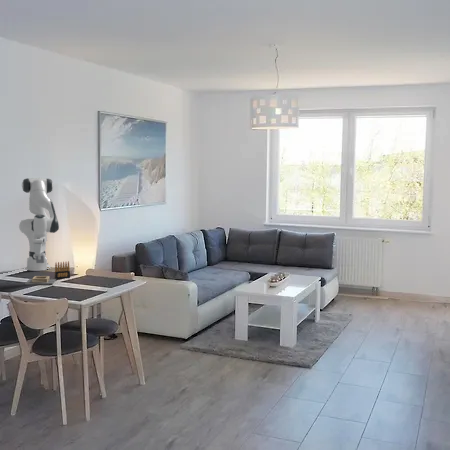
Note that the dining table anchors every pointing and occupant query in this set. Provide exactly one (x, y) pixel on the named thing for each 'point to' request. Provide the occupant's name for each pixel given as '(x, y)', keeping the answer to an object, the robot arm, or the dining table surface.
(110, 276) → the dining table surface
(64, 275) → the ammunition clip
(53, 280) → the end holder
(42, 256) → the connector
